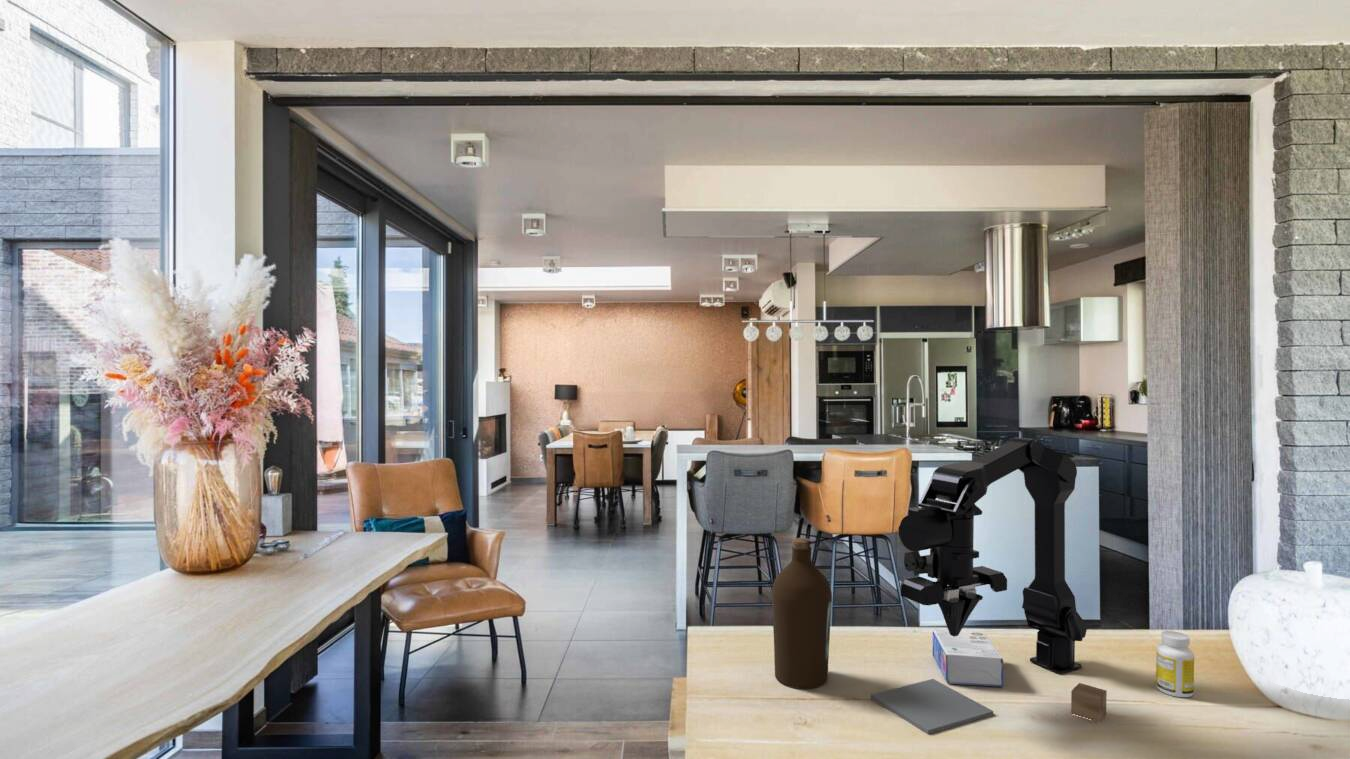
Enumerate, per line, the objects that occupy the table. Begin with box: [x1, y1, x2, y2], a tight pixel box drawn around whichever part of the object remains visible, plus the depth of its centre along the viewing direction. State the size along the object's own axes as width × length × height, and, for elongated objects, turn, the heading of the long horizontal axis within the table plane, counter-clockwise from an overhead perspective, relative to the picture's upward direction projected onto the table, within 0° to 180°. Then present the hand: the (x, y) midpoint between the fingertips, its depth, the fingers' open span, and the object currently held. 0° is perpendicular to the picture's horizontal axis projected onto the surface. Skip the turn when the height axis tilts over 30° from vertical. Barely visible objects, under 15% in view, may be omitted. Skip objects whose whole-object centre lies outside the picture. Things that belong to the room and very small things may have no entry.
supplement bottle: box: [1155, 630, 1195, 698], centre depth 126 cm, size 5×5×10 cm
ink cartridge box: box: [932, 629, 1004, 688], centre depth 135 cm, size 10×6×14 cm
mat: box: [870, 678, 994, 735], centre depth 120 cm, size 14×13×1 cm
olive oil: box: [771, 537, 833, 690], centre depth 131 cm, size 11×11×25 cm
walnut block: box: [1070, 682, 1108, 724], centre depth 118 cm, size 4×4×4 cm
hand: (953, 635), depth 122 cm, fingers closed
